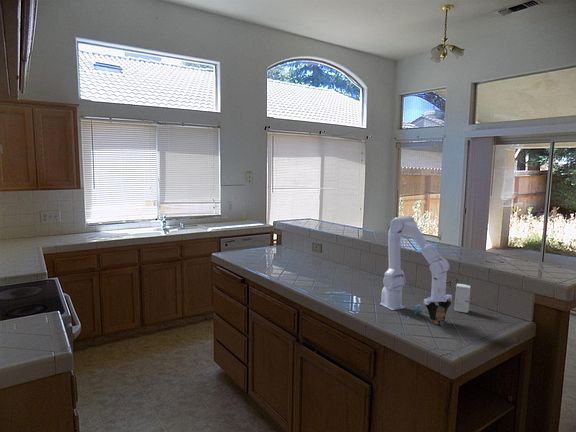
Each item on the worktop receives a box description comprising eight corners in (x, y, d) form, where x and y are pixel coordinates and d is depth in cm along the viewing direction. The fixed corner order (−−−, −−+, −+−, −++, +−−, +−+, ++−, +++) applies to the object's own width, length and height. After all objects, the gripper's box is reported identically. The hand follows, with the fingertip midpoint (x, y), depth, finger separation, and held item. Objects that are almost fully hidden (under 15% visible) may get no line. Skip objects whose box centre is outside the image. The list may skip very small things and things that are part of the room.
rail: (414, 313, 176) (414, 305, 175) (419, 312, 177) (419, 304, 177) (442, 326, 162) (442, 317, 161) (447, 325, 163) (447, 316, 163)
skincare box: (454, 311, 179) (455, 285, 178) (455, 307, 183) (456, 283, 181) (468, 313, 176) (470, 287, 175) (469, 310, 180) (470, 285, 178)
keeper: (429, 321, 167) (429, 307, 166) (437, 319, 169) (438, 305, 168) (436, 324, 163) (437, 310, 162) (445, 322, 165) (445, 308, 165)
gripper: (433, 292, 157) (432, 324, 159) (458, 287, 164) (456, 318, 165) (420, 287, 164) (419, 318, 165) (445, 283, 170) (443, 312, 172)
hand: (437, 318), depth 166 cm, fingers closed on keeper, 5 cm apart
